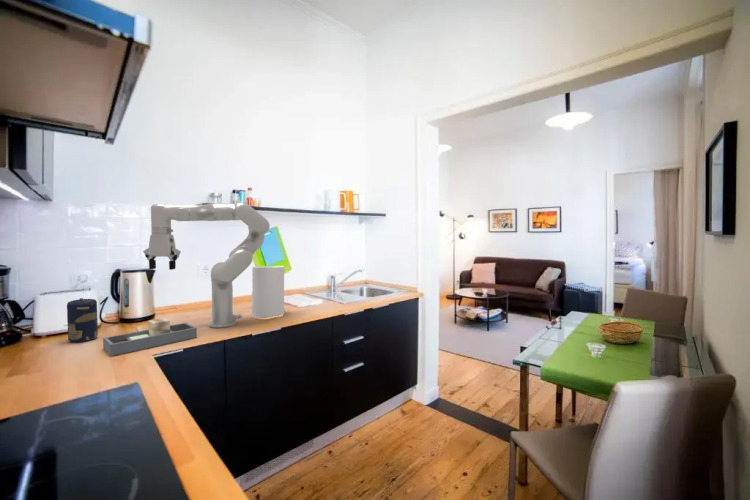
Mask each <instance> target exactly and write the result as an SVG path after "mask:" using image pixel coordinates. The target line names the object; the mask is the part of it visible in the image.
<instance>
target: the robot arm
mask: <svg viewBox="0 0 750 500" xmlns="http://www.w3.org/2000/svg"><path fill="white" fill-rule="evenodd" d="M150 221H151V224H150V225H151V226H150V228H151V230H150V231H151V234H150V236H149V241H148V247H147V248H146V249H144V250H143V254H144V255H145V258H146V260H147V261H148V268H149V270H155V269H157V260H156V258H157V257H160V258H161V257H165V258H166V257H167V258H168V259H169V261H168V269H169V270H170V271H171V270H176V268H177V267H176V265H177V264H176V261H177V260H178V258H179V257H180V255H181V250H179V249H177V248H176V241H175V236H174V234H172V233H173V232H174V229H172V221H176V222H196V221H197V222H199V221H202V222H203V221H204V222H220V221H223V222H224V221H242V222H243V223H244V224H245V225H246V226H247V228H248V235H247V236H246V238H244V240H243V241H242V242H241V243H239V244H238V245H237V246H236V247H235V248H233V249H232V250H231V251H230V252H229V254H228V258H226V259H225V261H224V262H222V261H220V262H217V263H215V264H214V265H212V267H211V270H210V282H211V321H210V322H209V323H208V327H209V328H213V329H223V328H229V327H232V325H233V326H234V325H236V324H237V320H239V319H242V318H243V315H242V314H241V313H240V314H234V310H233V309H234V307H233V302H234V299H233V296H234V295H233V292H234V291H233V288H234V287H233V281H235V280H236V279H237V278H238V277H239V276H240V275H242V274H243V272H245V270H247V269H248V268H249V267H250V265H251V264H252V262H253V258H254V257H253V256H255V255H254V254H256V253H257V251H258V250H260V248H261V247H262V246H263V244H264V241H265V236H266V235H265V234H267V233H268V231H270V227H271V226H270V222H269V221H268V219H267V218H265V216H263V215H262V214H261V213H259V212H258V211H257V210H256V209H255V208H253V207H252V206H251V205H250V204H248V203H246V202H238V203H237V202H236V203H207V204H203V205H186V204H185V205H184V204H162V203H155V204H152V205H151V206H150Z"/></svg>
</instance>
